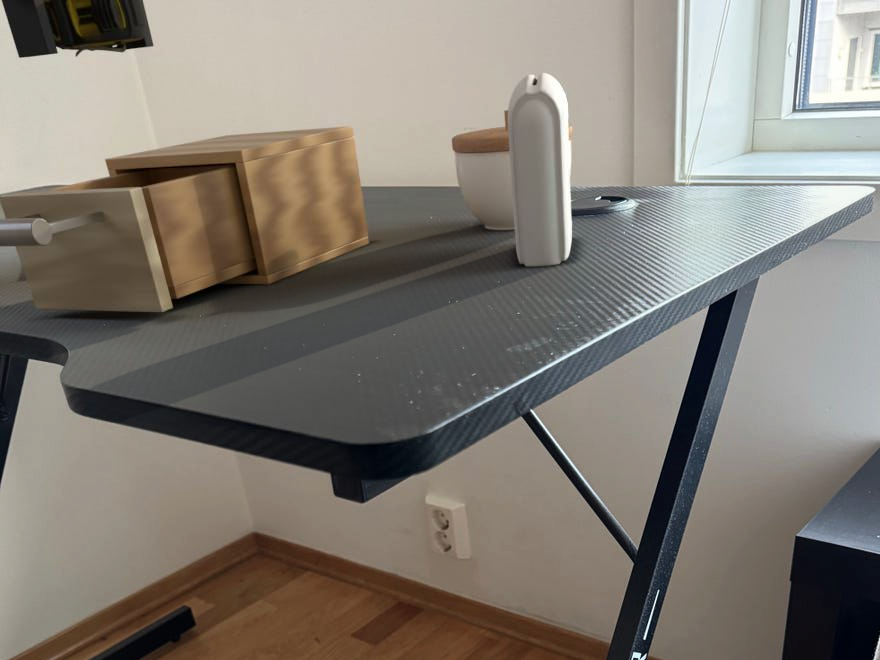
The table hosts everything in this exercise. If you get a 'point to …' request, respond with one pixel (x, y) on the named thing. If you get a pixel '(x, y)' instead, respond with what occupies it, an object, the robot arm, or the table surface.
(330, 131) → the cabinet
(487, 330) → the table surface
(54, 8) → the tape measure
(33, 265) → the drawer
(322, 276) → the table surface
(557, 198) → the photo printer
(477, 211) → the white lidded jar
